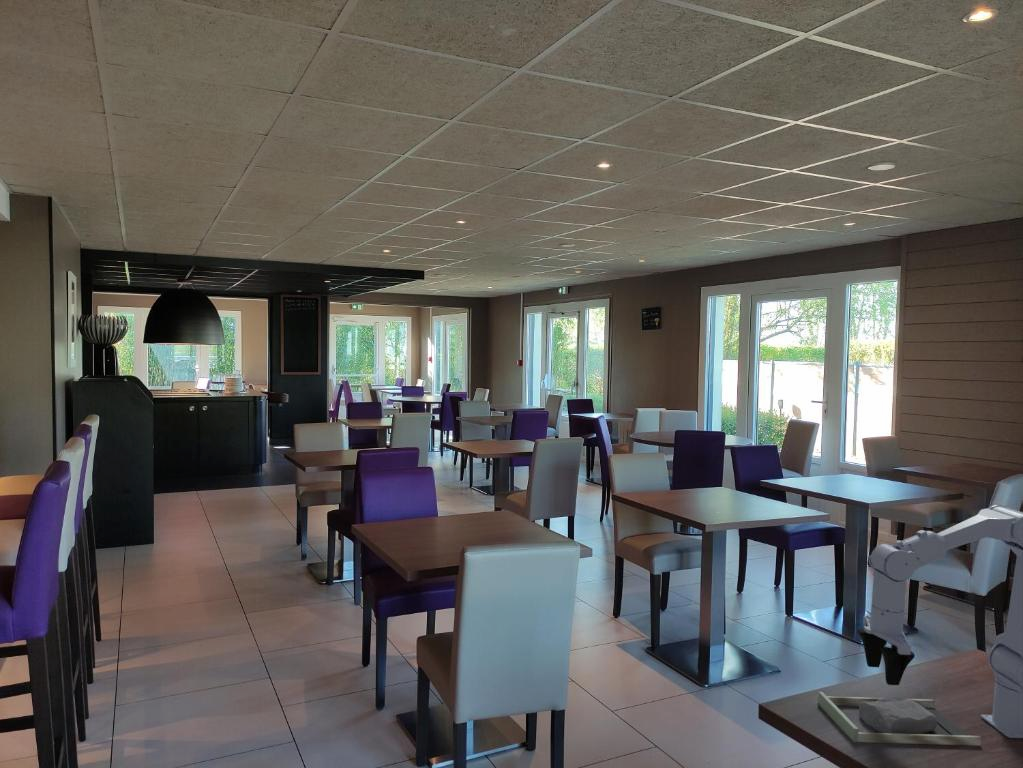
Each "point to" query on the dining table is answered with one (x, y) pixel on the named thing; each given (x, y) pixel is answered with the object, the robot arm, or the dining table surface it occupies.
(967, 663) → the dining table surface
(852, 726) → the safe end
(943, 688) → the dining table surface
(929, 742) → the grey cream flat frame
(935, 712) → the tiles
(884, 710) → the stone block
